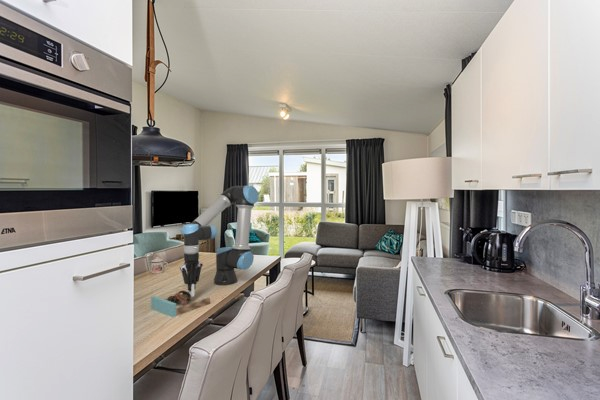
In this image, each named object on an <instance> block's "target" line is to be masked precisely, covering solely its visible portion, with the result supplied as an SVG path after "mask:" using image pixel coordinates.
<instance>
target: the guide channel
mask: <svg viewBox="0 0 600 400" xmlns="http://www.w3.org/2000/svg"><path fill="white" fill-rule="evenodd" d="M187 292H188V293H189V291H187ZM180 295H181V296H182V297H184V298H185V300H187V298H189V297H188V296H187V295H183V293H180ZM177 298H178V297H177ZM164 299H165V300H167V299H168V297H166V298H164ZM170 301H172V299H171V300H170ZM180 301H181V300H178V302H180ZM210 304H211V297H206V298H202V299H199V300H197V301H194V302H191V303H188V304H187V305H185V306H183V305H182V306H179V307H176V316H175V317H177V316H180V315H182V314H186V313H188V312H191V311H193V310H196V309H200V308H201V307H204V306H207V305H210Z"/></svg>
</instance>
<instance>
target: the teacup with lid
mask: <svg viewBox="0 0 600 400" xmlns="http://www.w3.org/2000/svg"><path fill="white" fill-rule="evenodd" d="M165 264H166V267H164V265H165ZM168 267H169V263H168V261H165V260H164V259H163V258H160V256H156V257H155V258H154V259H152V260H150V273H151V274H154V275H155V274H156V275H157V274H163V273H164V272H165V269H167V268H168Z"/></svg>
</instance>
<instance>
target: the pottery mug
mask: <svg viewBox="0 0 600 400" xmlns="http://www.w3.org/2000/svg"><path fill="white" fill-rule="evenodd" d="M188 292H189V291H186V290H179V291H178V292H176V293H175V294H174V295H169V296H168V297H167V298H168V299H167V300H168V301H170V300H171V299H172V301H170V302H173V303H178V302H179V301H178V300H180V301H181V302H182V303H183V304H182V306H185V305H188V304H190V302H191V300H192V297H191V295H190V293H188ZM182 293H183V295H187V296H188V297H189V298H186V299H185V298H184V297H182V296H181V295H180V294H182ZM177 297H178V298H177Z"/></svg>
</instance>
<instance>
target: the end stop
mask: <svg viewBox="0 0 600 400" xmlns="http://www.w3.org/2000/svg"><path fill="white" fill-rule="evenodd" d="M165 299H166V298H162V297H159V296H156V295H154V296H151V297H150V300H151V301H150V302H151V303H150V305H151V306H150V309H151V310H154V311H156V312H159V313H160V314H163V315H166V316H168V317H171V318H174V317H177V316H176V308H177V302H174V303H173V302H170V301H168V300H165Z"/></svg>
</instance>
